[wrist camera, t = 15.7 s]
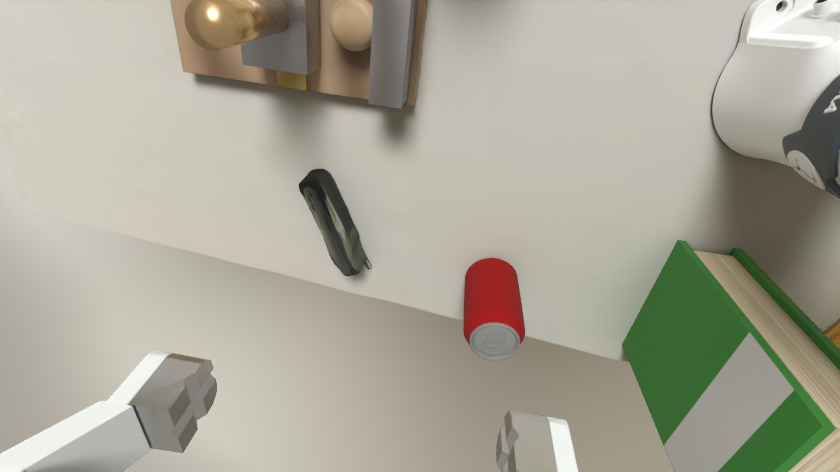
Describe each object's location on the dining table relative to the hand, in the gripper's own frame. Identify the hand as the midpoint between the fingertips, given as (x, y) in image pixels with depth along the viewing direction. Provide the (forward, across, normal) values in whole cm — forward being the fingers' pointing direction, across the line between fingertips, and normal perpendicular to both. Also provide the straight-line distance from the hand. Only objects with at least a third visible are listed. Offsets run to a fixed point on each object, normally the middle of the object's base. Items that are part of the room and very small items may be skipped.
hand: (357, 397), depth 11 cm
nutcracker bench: (+37, +16, -5) cm, 41 cm away
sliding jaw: (+35, +15, -5) cm, 38 cm away
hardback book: (+37, -34, +22) cm, 55 cm away
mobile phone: (+38, +10, +18) cm, 43 cm away
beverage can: (+37, -10, +23) cm, 45 cm away
